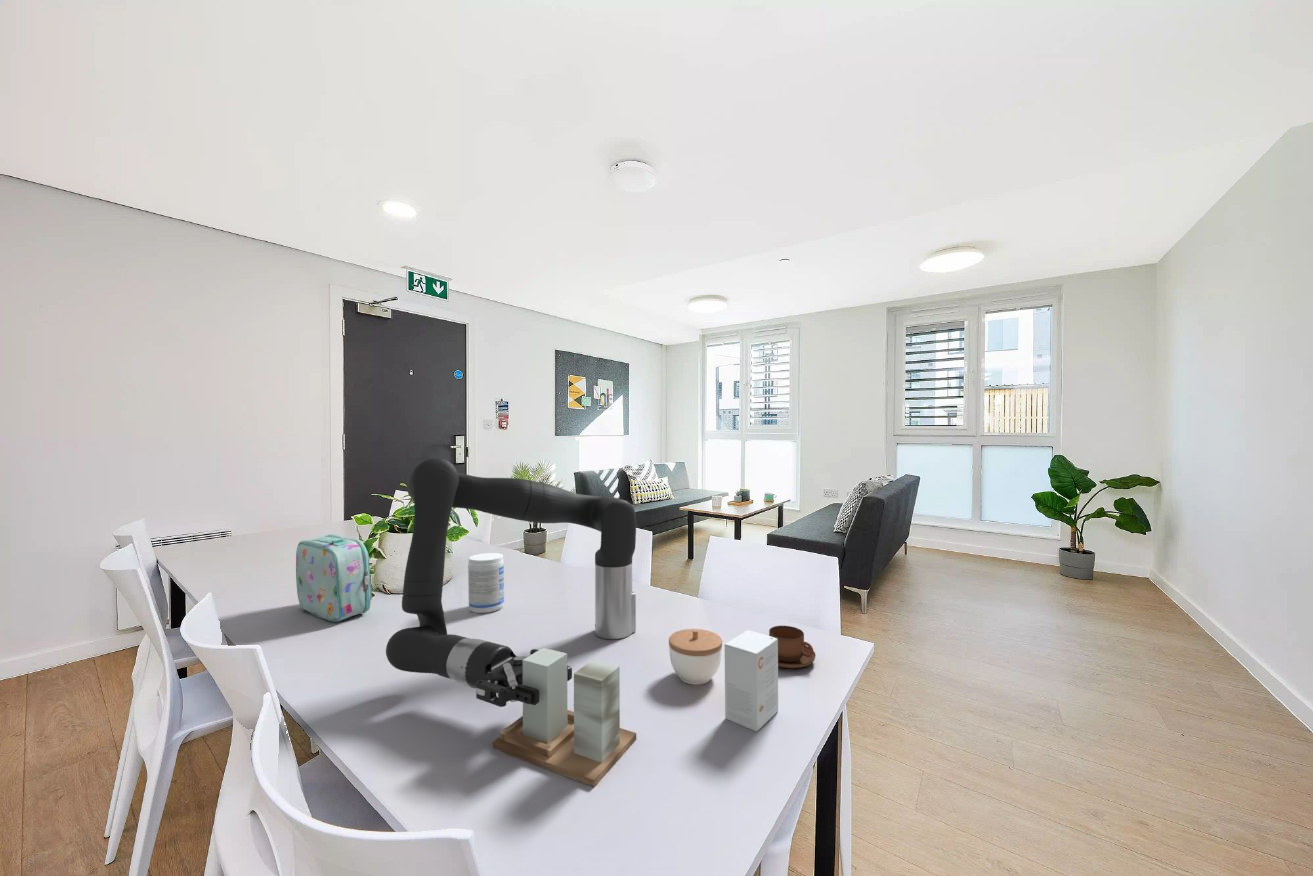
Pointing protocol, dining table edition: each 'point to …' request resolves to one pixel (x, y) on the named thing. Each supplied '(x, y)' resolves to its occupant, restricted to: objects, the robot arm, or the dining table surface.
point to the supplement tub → (486, 582)
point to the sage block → (546, 694)
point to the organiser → (579, 730)
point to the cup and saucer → (792, 647)
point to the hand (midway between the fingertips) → (555, 685)
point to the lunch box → (333, 577)
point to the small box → (751, 679)
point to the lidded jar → (695, 655)
